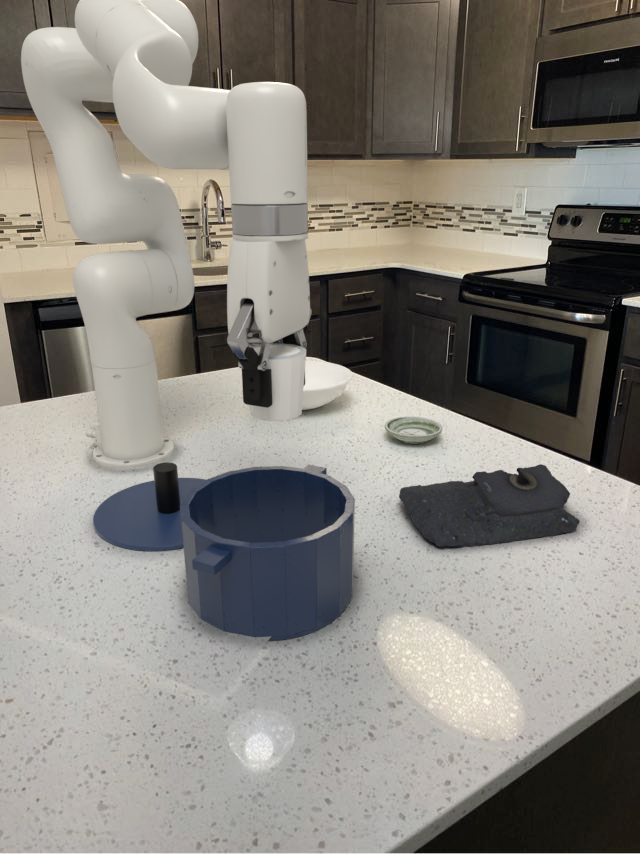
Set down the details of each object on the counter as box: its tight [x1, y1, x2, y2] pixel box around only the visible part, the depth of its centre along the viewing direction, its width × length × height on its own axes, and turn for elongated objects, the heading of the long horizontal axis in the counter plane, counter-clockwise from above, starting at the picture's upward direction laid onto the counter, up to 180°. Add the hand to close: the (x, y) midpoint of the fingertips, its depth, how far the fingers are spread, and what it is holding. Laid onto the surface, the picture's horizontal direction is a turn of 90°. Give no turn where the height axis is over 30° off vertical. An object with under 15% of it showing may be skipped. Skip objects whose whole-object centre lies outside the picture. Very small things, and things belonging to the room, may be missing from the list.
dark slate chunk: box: [398, 464, 581, 548], centre depth 87 cm, size 15×22×5 cm
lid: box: [92, 462, 206, 552], centre depth 86 cm, size 19×19×7 cm
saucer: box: [384, 415, 443, 445], centre depth 112 cm, size 10×10×2 cm
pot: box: [180, 464, 356, 642], centre depth 70 cm, size 18×23×10 cm
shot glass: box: [249, 343, 307, 422], centre depth 71 cm, size 7×7×7 cm
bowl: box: [302, 360, 354, 411], centre depth 128 cm, size 20×20×6 cm
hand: (275, 393), depth 72 cm, fingers closed on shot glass, 6 cm apart
